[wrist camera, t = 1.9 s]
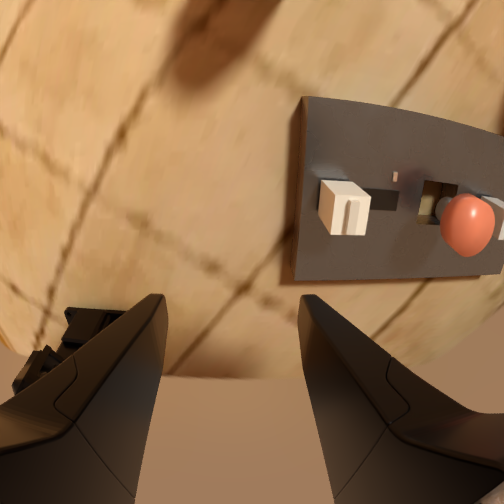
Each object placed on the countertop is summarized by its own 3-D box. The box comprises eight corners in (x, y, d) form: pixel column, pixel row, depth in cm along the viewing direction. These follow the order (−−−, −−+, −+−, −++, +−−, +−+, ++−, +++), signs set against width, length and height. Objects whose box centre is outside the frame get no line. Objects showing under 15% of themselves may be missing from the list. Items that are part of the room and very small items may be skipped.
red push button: (458, 234, 19) (485, 256, 16) (419, 232, 19) (446, 256, 16) (468, 186, 18) (500, 204, 15) (430, 180, 18) (461, 198, 14)
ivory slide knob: (348, 215, 19) (367, 238, 16) (317, 214, 19) (332, 237, 16) (352, 181, 18) (373, 199, 15) (321, 179, 18) (337, 197, 15)
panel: (488, 263, 24) (500, 274, 22) (290, 266, 23) (294, 281, 22) (517, 142, 19) (532, 147, 17) (301, 96, 18) (309, 96, 16)
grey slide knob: (490, 224, 20) (516, 242, 17) (475, 222, 20) (501, 242, 17) (497, 198, 19) (524, 214, 16) (481, 195, 19) (509, 212, 16)
